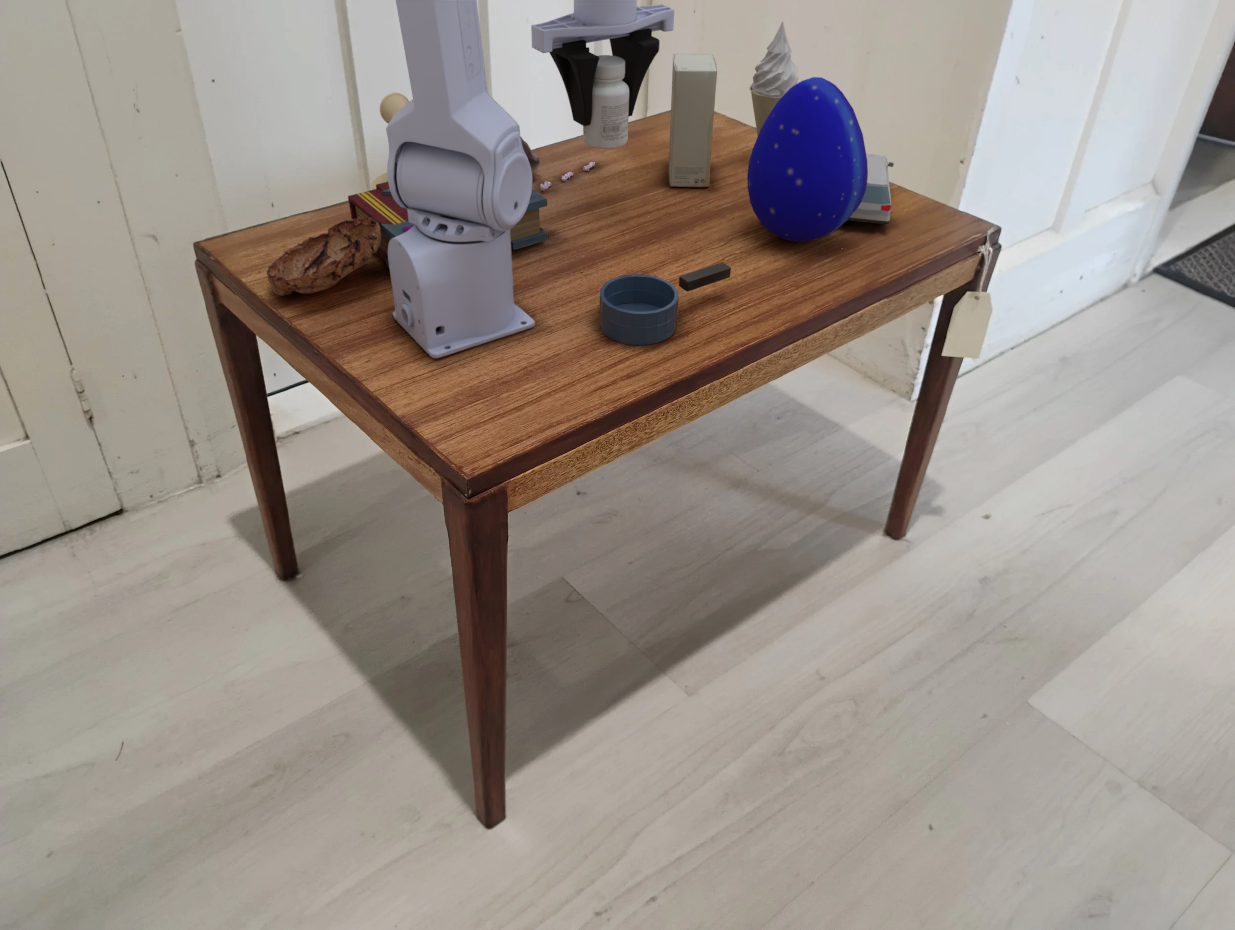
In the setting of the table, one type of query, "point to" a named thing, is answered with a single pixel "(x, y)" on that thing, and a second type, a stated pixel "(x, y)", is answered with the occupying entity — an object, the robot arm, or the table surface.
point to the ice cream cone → (772, 77)
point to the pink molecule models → (566, 176)
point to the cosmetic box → (692, 119)
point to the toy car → (875, 193)
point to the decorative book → (397, 223)
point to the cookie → (325, 257)
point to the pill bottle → (608, 105)
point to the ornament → (808, 163)
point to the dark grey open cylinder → (638, 309)
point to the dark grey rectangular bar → (704, 276)
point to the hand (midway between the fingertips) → (603, 117)
